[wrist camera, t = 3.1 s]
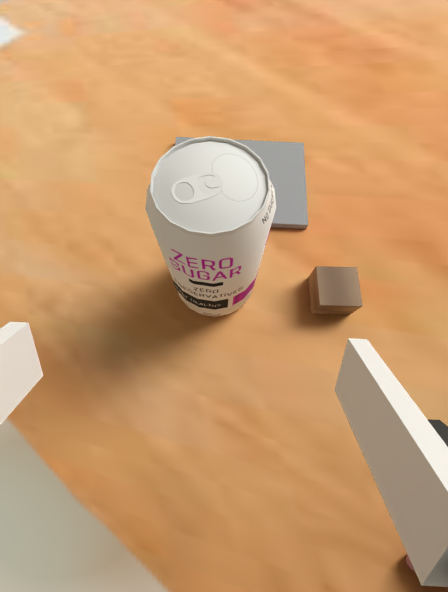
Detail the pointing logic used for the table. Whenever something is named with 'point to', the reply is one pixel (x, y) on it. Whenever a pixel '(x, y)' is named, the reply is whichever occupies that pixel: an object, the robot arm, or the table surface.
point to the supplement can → (211, 220)
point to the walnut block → (334, 290)
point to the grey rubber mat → (282, 179)
